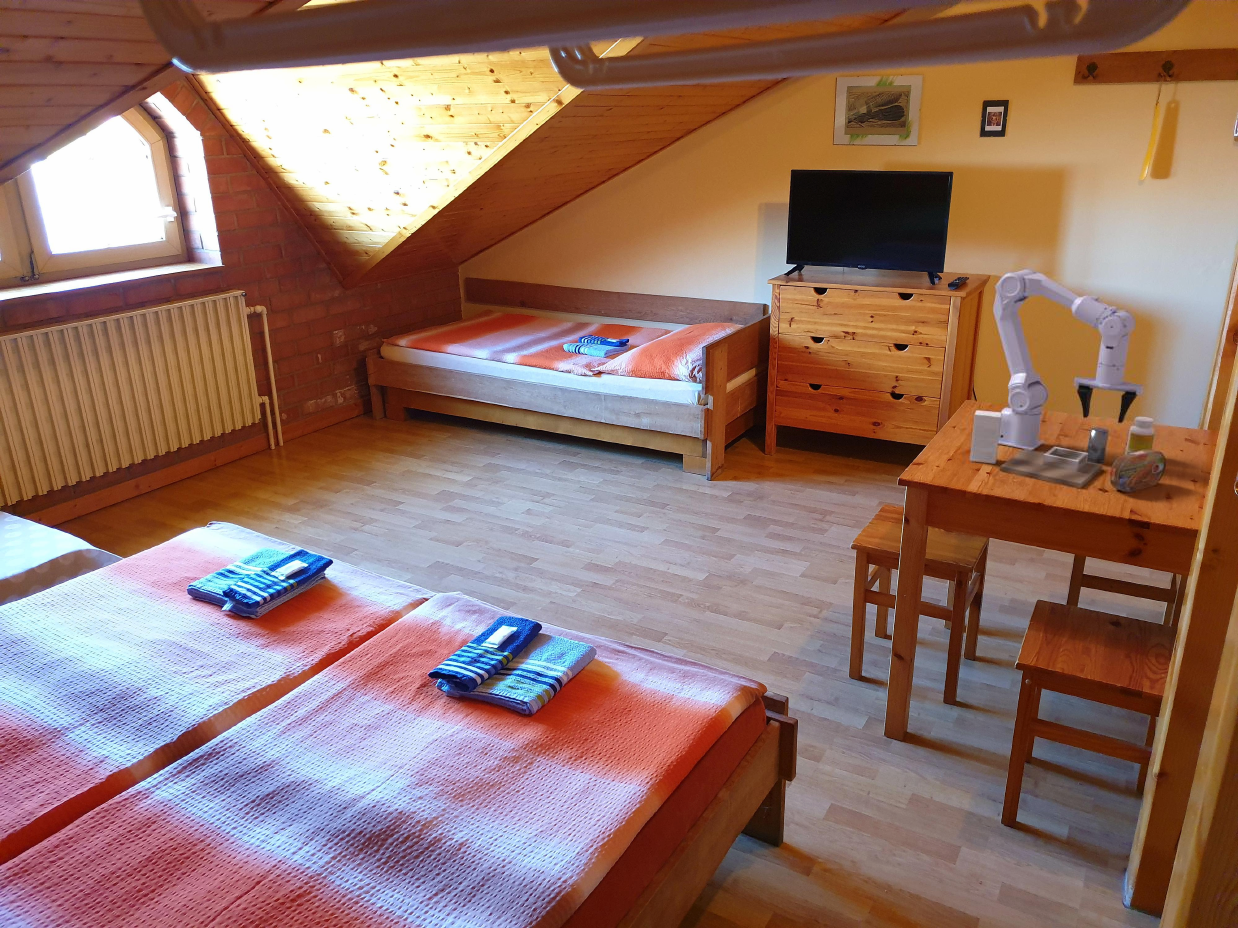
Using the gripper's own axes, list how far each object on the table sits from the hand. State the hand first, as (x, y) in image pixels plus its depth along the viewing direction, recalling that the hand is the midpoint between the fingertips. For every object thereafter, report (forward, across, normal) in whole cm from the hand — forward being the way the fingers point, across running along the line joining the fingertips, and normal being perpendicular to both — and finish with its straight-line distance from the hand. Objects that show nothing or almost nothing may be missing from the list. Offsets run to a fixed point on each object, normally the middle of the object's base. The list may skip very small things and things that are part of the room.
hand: (1103, 419), depth 218 cm
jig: (+11, -7, -13) cm, 18 cm away
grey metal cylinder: (+11, 0, 0) cm, 11 cm away
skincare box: (+11, -22, -15) cm, 29 cm away
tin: (+11, +11, -13) cm, 20 cm away
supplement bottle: (+11, +7, +10) cm, 16 cm away
